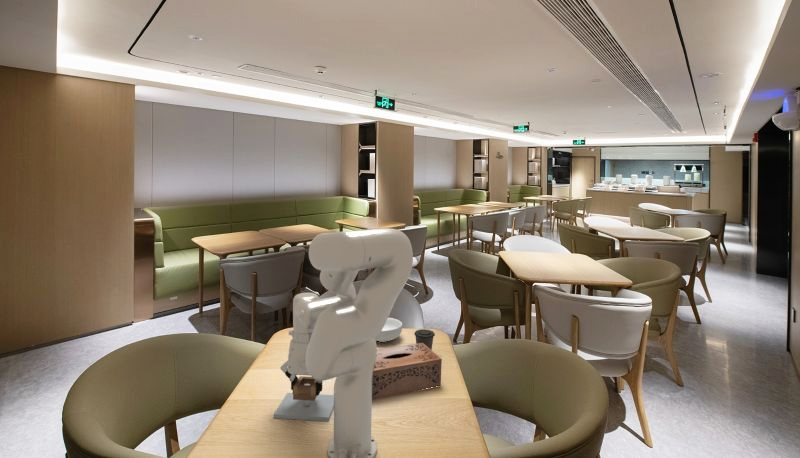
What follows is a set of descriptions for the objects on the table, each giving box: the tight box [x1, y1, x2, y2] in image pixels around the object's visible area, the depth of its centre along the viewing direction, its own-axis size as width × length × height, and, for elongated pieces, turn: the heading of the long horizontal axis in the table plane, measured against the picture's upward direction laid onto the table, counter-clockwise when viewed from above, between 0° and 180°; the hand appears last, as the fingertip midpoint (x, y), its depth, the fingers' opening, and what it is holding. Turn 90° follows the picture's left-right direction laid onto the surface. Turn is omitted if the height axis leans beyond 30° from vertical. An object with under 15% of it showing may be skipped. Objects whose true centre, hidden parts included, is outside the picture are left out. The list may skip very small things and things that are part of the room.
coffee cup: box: [413, 328, 436, 351], centre depth 163 cm, size 8×8×10 cm
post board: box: [273, 384, 334, 422], centre depth 124 cm, size 12×16×7 cm
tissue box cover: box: [372, 343, 443, 401], centre depth 140 cm, size 26×14×10 cm, turn 113°
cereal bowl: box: [374, 317, 403, 343], centre depth 178 cm, size 17×17×7 cm
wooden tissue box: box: [292, 375, 317, 401], centre depth 124 cm, size 6×6×4 cm
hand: (306, 392), depth 124 cm, fingers closed on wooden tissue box, 6 cm apart
